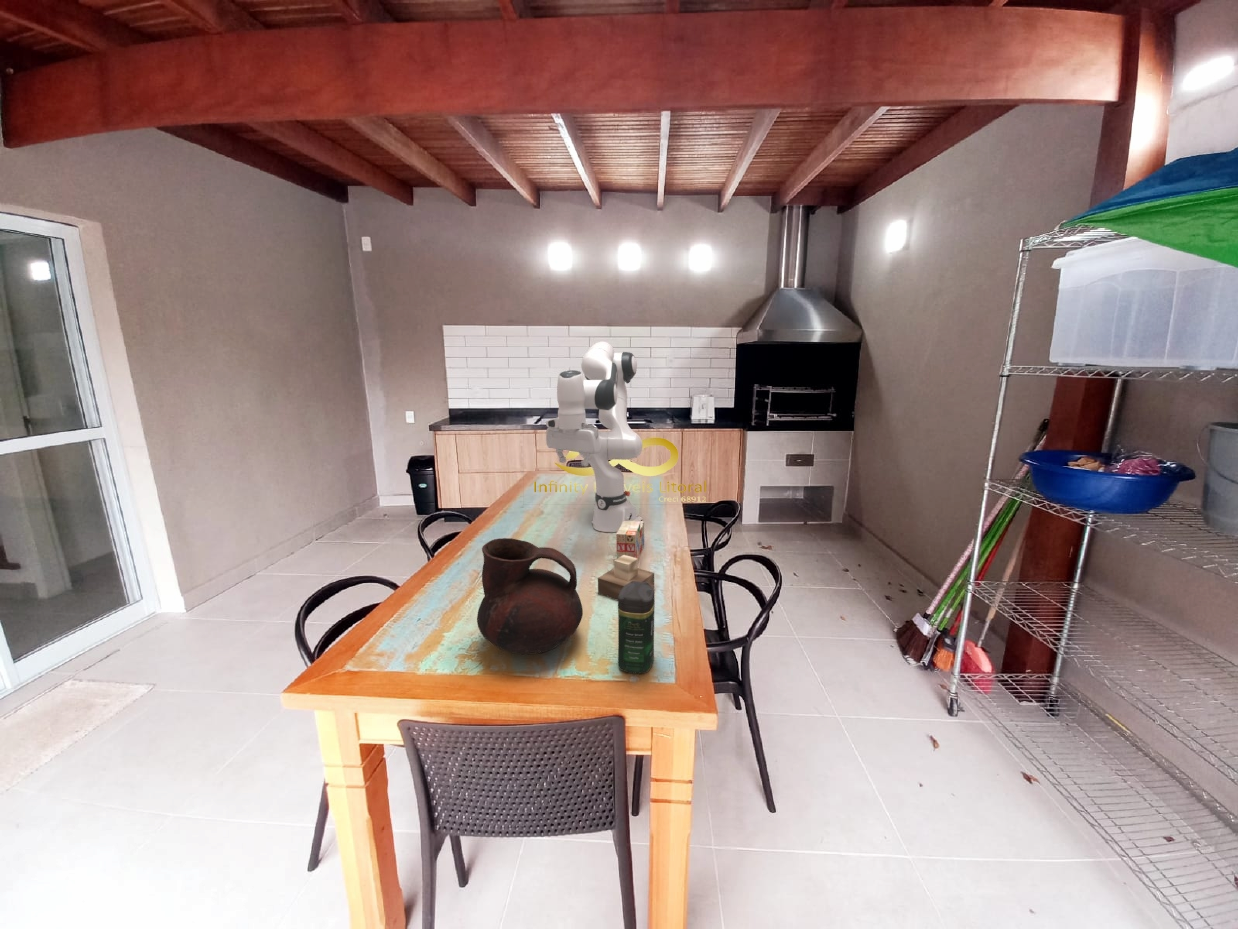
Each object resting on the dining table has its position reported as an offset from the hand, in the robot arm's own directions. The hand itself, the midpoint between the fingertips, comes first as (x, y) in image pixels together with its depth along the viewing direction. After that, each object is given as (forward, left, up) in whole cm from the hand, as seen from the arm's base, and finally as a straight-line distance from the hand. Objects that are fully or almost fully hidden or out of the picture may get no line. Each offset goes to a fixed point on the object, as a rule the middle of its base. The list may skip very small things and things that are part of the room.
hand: (573, 464), depth 161 cm
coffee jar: (+37, +48, -34) cm, 69 cm away
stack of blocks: (-12, +14, -34) cm, 39 cm away
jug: (+44, +22, -34) cm, 60 cm away
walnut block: (+10, +27, -33) cm, 44 cm away
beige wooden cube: (+10, +27, -28) cm, 41 cm away
